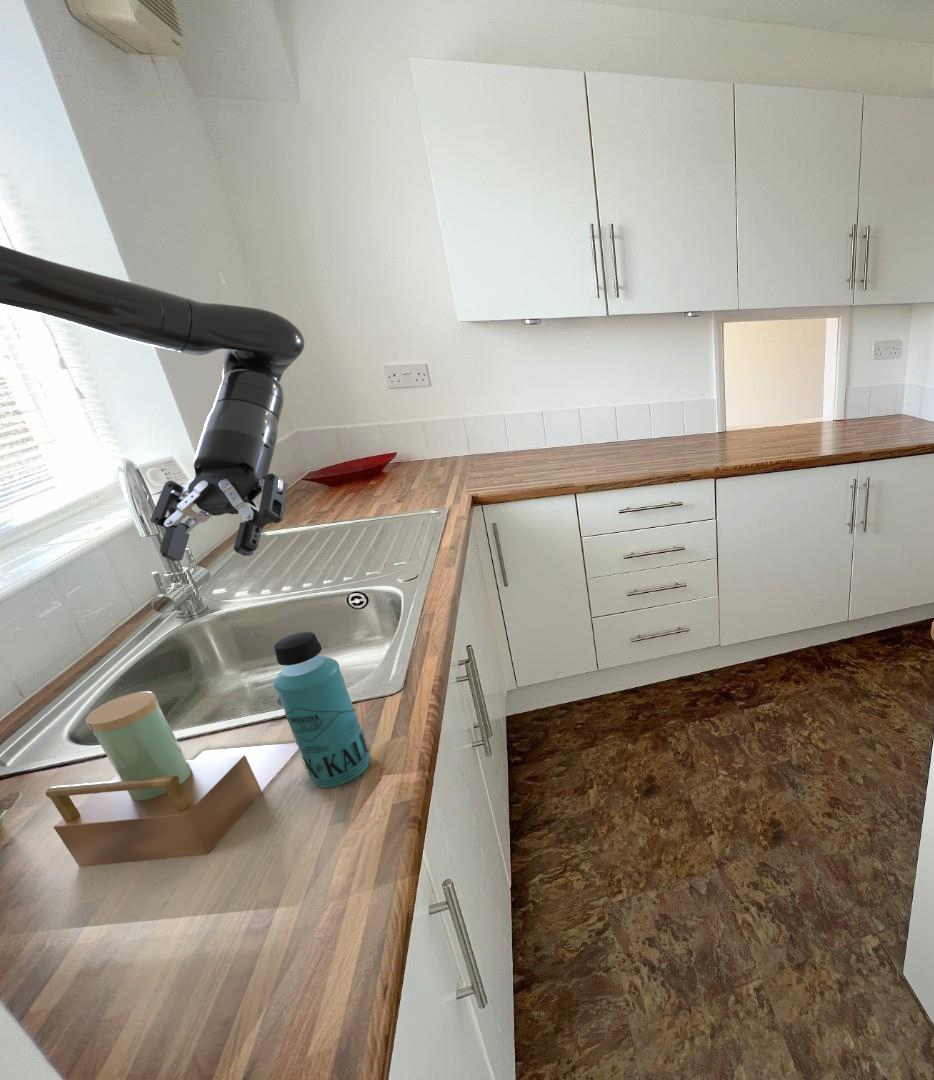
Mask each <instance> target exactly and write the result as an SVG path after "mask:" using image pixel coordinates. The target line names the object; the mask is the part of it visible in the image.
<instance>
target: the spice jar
mask: <svg viewBox="0 0 934 1080" xmlns="http://www.w3.org/2000/svg"><path fill="white" fill-rule="evenodd" d="M159 704H160V703H159V700H158V698H157V696H156V694H155V693H154V692H153V691H138V692H133V693H129V694H125V695H122V696H119V697H117V698H114V699H111V700H109V701H107V702H105V703H103V704H101V705H100V706H98V707H96V708H95V709H93V710H92V711H90V713H88V715H87V716H86V718H85V723H86V725H87V726H88V728H89V730H90V731H92V732H93V734H94V736H95V737H96V739H97V740H98V743H99V745H100V746H101V748H102V750H103V751H104V753H105V755H106V757H107V758H108V760H109V762H110V763H111V765H112V767H113V768H114V771H115V772H116V775H117V774H118V776H119V778H120V779H121V780H131V779H142V778H153V777H164V776H175V775H176V776H178V777H179V783H180V784H182V783H183V782H184V781H185V780H186V779H187V778H188V777H189V776H190V774H191V767H190V765H189V763H188V762H187V760H188V759H187V757H186V755H185V754H184V752H183V750H182V747H181V746H180V744H179V742H178V740H177V738H176V736H175V733H174V732H173V730H172V728H171V726H170V724H169V723H168V720H167V719H166V716H165V715H164V713H163V710H162V709H161V706H160V705H159ZM127 792H128V793H129V795H130V797H131V798H132V799H133V800H137V801H142V800H148V799H152V798H155V797H158V796H161V795H163V794H165V793H167V791H166V789H165V787H159V788H148V789H137V790H127Z"/></svg>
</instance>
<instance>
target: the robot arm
mask: <svg viewBox="0 0 934 1080" xmlns="http://www.w3.org/2000/svg"><path fill="white" fill-rule="evenodd" d="M0 305H1V306H6V307H11V308H15V309H20V310H24V311H28V312H33V313H37V314H40V315H43V316H48V317H51V318H54V319H58V320H61V321H64V322H66V323H71V324H74V325H77V326H80V327H83V328H87V329H89V330H93V331H96V332H100V333H102V334H107V335H110V336H113V337H116V338H120V339H123V340H128V341H130V342H131V341H132V342H135V343H139V344H143V345H147V346H152V347H155V348H156V347H157V348H159V349H160V348H161V349H165V350H170V351H173V352H179V353H184V354H187V355H193V356H205V355H208V354H210V353H213V352H215V351H218V350H225V352H224V355H223V363H222V380H221V382H220V384H219V388H218V390H217V394H216V397H215V400H214V403H213V407H212V408H211V410H210V412H209V414H208V416H207V418H206V420H205V423H204V427H203V431H202V433H201V436H200V439H199V443H198V446H197V449H196V452H195V456H194V459H193V461H192V463H193V468H194V473H195V474H194V475H195V476H194V477H193V479H192V480H191V481H190V482H189V483H182V484H181V483H177V482H175V481H174V480H167V481H166V482H164V485H163V487H162V490H161V492H160V495H159V497H158V500H157V502H156V505H155V507H154V510H153V512H152V514H151V517H150V522H151V523H152V524H154V525H156V526H158V527H160V528H162V529H165V531H164V534H163V538H162V541H161V545H160V547H159V553H160V554H161V557H163V558H165V559H168V560H170V561H172V562H179V561H182V560H183V559H184V555H185V552H186V549H187V545H188V542H189V538H190V535H191V534H189V533H191V531H193V530H194V528H196V527H197V525H199V524H201V523H203V524H204V523H205V522H207V521H208V520H209V519H210V518H211V517H212V516H216V517H217V516H222V515H225V514H228V515H238V514H239V515H240V517H241V518H242V520H243V522H240V523H239V526H238V530H237V534H236V537H235V541H234V545H233V550H234V552H235V553H238V554H239V555H242V556H244V557H248V556H253V555H254V552H255V551H256V550H257V548H258V547H259V542H260V539H261V535H262V532H263V531H262V530H263V529H264V528H266V527H267V525H269V524H272V523H273V524H279V523H280V522H282V521H283V517H284V510H285V505H286V504H285V503H286V498H287V493H288V492H287V491H288V485H289V484H288V483H287V482H286V481H284V480H283V478H282V479H281V478H280V477H279V476H277V475H276V474H274V473H269V472H270V467H271V464H272V459H273V455H274V451H275V448H276V444H277V441H278V434H279V422H280V420H281V415H282V411H283V407H284V402H285V390H284V388H283V386H282V385H281V380H282V377H283V375H284V373H285V371H286V370H287V369H288V368H289V367H290V366H291V365H292V364H293V363H294V362H295V361H296V360H297V359H299V357H300V356H301V355H302V353H303V351H304V349H305V343H306V342H305V338H304V335H303V333H302V332H301V330H300V329H299V328H298V326H297V325H295V324H294V323H293V322H292V321H290V320H289V319H288V318H286V317H284V316H282V315H280V314H278V313H276V312H272V311H269V310H267V309H262V308H256V307H249V306H244V305H243V306H241V305H233V304H225V303H210V302H201V301H197V300H194V299H191V298H188V297H184V296H182V295H181V296H180V295H177V294H174V293H169V292H168V291H167V292H166V291H164V290H160V289H156V288H153V287H149V286H147V285H146V286H145V285H142V284H138V283H135V282H131V281H127V280H122V279H119V278H115V277H112V276H107V275H103V274H100V273H96V272H92V271H89V270H84V269H80V268H77V267H73V266H69V265H65V264H61V263H58V262H55V261H52V260H47V259H44V258H42V257H41V258H40V257H38V256H35V255H31V254H29V253H25V252H22V251H19V250H16V249H13V248H10V247H6V246H5V245H2V244H1V245H0ZM259 495H261V498H260V504H259V506H258V504H257V502H256V498H257V497H259ZM195 505H196V507H197V508H198V509H199V511H196V510H194V509H193V507H194V506H195ZM167 514H168V516H167ZM186 517H188V518H187V519H186V520H185V521H183V520H184V519H185V518H186ZM182 521H183V522H182Z"/></svg>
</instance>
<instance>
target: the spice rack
mask: <svg viewBox="0 0 934 1080" xmlns="http://www.w3.org/2000/svg"><path fill="white" fill-rule="evenodd" d="M296 744H297V742H289V743H278V744H266V745H255V746H245V747H244V746H242V747H232V748H231V747H230V748H221V749H210V750H203V751H202V752H201V753H200V754H199V755H198V756H197V757H196V758H194V759H186V760H187V762H188V763H189V765H190V767H191V774H190V776H189V777H188V778H187V779H186V780H185V781H184V782H183V783H182V784H180V783H179V777H178V776H176V775H175V776H164V777H153V778H142V779H131V780H121V779H120V778H119V776H118V774H117V773H116V774H115V775H114V776H113V777H112V778H111V779H109V780H108V781H99V782H88V783H87V782H86V783H75V784H66V785H65V784H64V785H55V786H50V787H48V788H47V789H46V791H45V796H46V797H47V798H49V799H50V800H51V802H52V803H53V805H54V806H55V808H56V810H57V811H58V813H59V814H60V816H61V817H62V819H61V820H59V821H58V822H57V823H56V824H55V825H54V826H53V829H54V830H55V832H56V833H57V835H58V837H59V838H60V840H61V841H62V843H63V844H64V846H65V847H66V849H67V850H68V852H69V854H70V855H71V857H72V858H73V859H74V861H75V863H76V864H77V866H78V867H79V868H82V867H91V866H93V867H94V866H101V865H112V864H123V863H124V864H125V863H134V862H145V861H156V860H166V859H176V858H187V857H196V856H207V855H209V854H210V853H211V852H212V850H213V849H214V848H215V847H216V846H217V845H218V844H219V842H221V840H223V838H224V837H225V836H226V835H227V833H228V832H229V831H230V830H231V829H232V828H233V826H235V824H236V823H237V822H238V821H239V820H240V819H241V817H242V816H243V815H244V814H245V813H246V812H247V810H248V809H249V808H250V807H251V806H252V805H253V804H254V802H255V801H256V800H257V799H258V798H259V796H260V795H261V794H262V793H263V791H265V790H266V788H267V787H268V786H269V785H270V784H271V782H272V781H273V780H274V779H275V778H276V777H277V775H278V774H280V772H281V771H282V770H283V769H284V768H285V766H286V765H287V764H288V763H289V762H290V761H291V760H292V758H293V757H294V756H295V755H296V754H297V753H298V752H299V751H300V750H299V747H298V745H297V746H296ZM159 787H165V789H166V791H167V793H165V794H163V795H161V796H158V797H155V798H152V799H148V800H142V801H137V800H133V799H132V798H131V797H130V795H129V793H128V792H127V790H137V789H148V788H159ZM81 795H90V796H89V797H88V798H86V799H85V800H84V801H82V802H81V803H80V804H79V805H77V807H76V805H75V804H74V802H73V800H72V798H71V797H72V796H81ZM70 796H71V797H70Z"/></svg>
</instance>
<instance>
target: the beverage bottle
mask: <svg viewBox="0 0 934 1080" xmlns="http://www.w3.org/2000/svg"><path fill="white" fill-rule="evenodd" d="M273 649H274V653H275V657H276V662H277V663H278V665H280V666H284V667H283V668H282V669H281V670H280V672H279V673H278V674H277V676H276V677H275V679H274V681H273V687H274V690H275V691H276V693H277V696H278V698H279V701H280V703H281V706H282V708H283V710H284V711H283V712H284V714H283V716H284V717H285V719H286V722H287V723H288V726H289V727H290V728H289V727H288V728H289V730H290V731H291V735H292V736H293V738H294V743H297V744H296V746H297V745H298V747H299V750H298V751H299V753H300V755H299V756H300V757H299V758H301V759H302V760H301V762H302V764H303V766H304V769H305V772H306V774H307V775H308V776H309V778H310V781H311V783H312V784H314V785H315V786H316V787H318V788H320V789H321V788H322V789H331V788H337V787H340V786H343V785H345V784H348V783H349V782H351V781H353V780H355V779H357V778H358V777H360V775H361V774H363V773H364V771H366V769H368V767H369V764H370V760H371V757H372V756H371V755H372V754H371V751H370V748H369V747H370V746H369V744H368V743H367V739H366V738H365V733H364V730H363V728H362V727H361V726H362V724H360V722H359V718H358V715H357V713H356V710H357V708H354V706H353V703H352V700H351V697H350V694H349V692H348V689H347V686H346V683H345V680H344V677H343V674H342V672H341V669H340V668H341V667H340V664H339V663H340V662H338V661H337V660H336V659H334V658H332V657H328V656H324V655H319V654H320V653H321V652H322V649H323V648H322V645H321V643H320V641H319V639H318V637H317V636H316V634H315V632H312V631H303V632H297V633H293V634H290V635H287V636H285V637H283V638H281V639H279V640H278V641H276V643H275V644H274V646H273Z"/></svg>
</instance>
